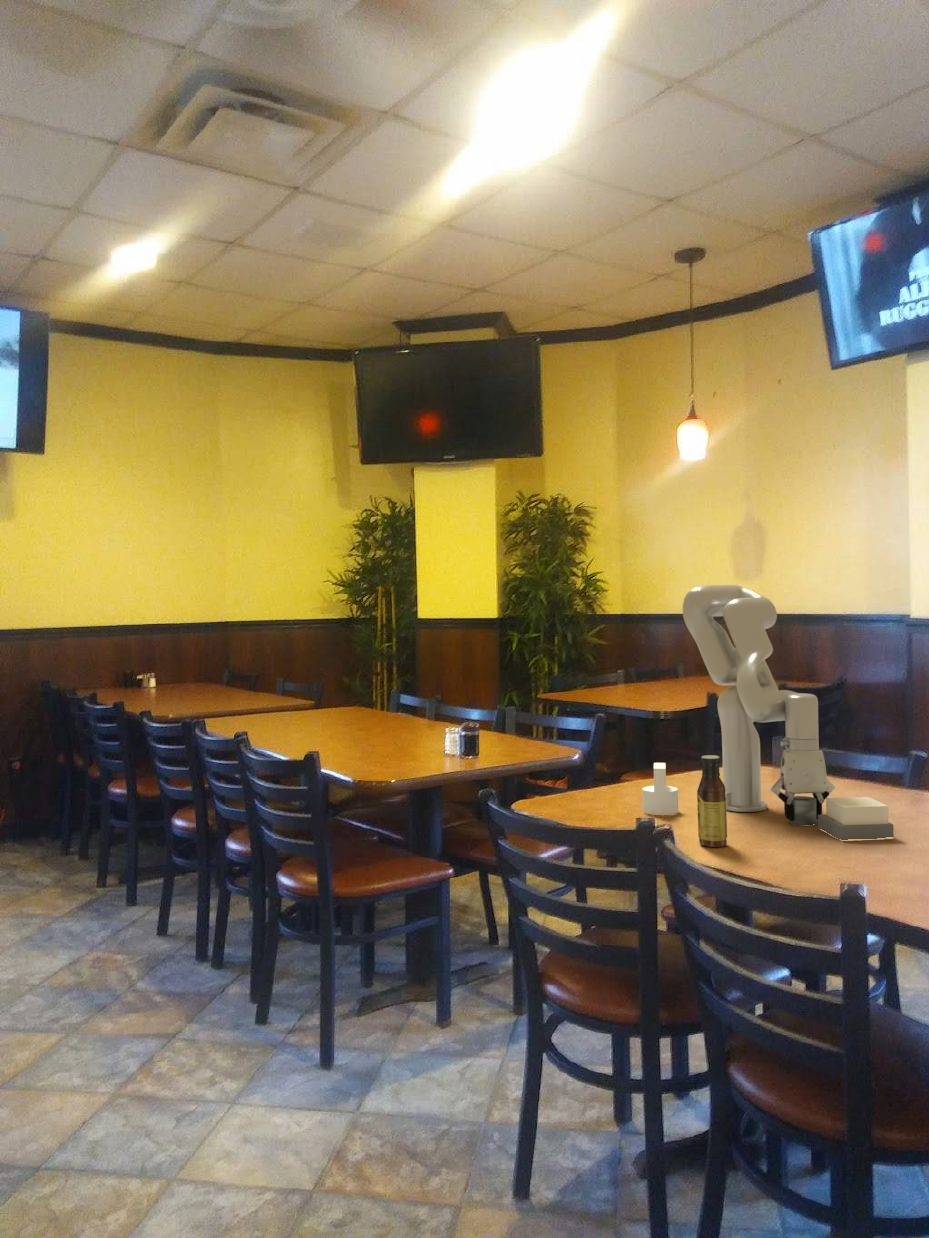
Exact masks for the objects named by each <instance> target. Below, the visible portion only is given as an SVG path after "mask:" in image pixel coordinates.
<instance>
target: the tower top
mask: <svg viewBox="0 0 929 1238" xmlns="http://www.w3.org/2000/svg"><path fill="white" fill-rule="evenodd" d="M825 803H826V804H825V808H826V809H825V812H826V815H827V816H829V817H831V818H833V819H834V820H836V821H838V822H840V823H842V824H843V825H866V824H888V822H889V805H886V804H884V803H882V802H880V801H878V800H876V799H874V798H871V797H869V796H855V797H854V796H853V797H852V796H851V797H827V798H826V799H825Z"/></svg>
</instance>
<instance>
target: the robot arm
mask: <svg viewBox="0 0 929 1238" xmlns="http://www.w3.org/2000/svg"><path fill="white" fill-rule="evenodd" d="M682 617H683V621H684V624H685V626H686V627H687V630H688V631H689V633H690V634H691V636H692V638H693V640H694V641H695V643H696V645H697V648H698V650H699V652H700V655H701V658H702V661H703V663H704V665H705V667H706V669H707V672H708V674H709V677H710V678H711V681H713V683H715V684H716V685H719V686H724V687H725V686H731V687H728V688H725V690H723V691H722V692H721V693H720V694H719V696H718V697H717V704H716V705H717V714H718V717H719V723H720V728H721V729H720V731H721V747H722V748H721V749H722V751H721V753H722V782H723V784H724V786H725V797H726V811H727V812H736V813H737V812H738V813H757V812H763V811H766V810H767V809H768V802H766V801H763V800H762V789H761V788H762V783H761V782H762V781H761V777H762V776H761V774H762V773H761V740H760V735H759V733H758V731H757V729H756V727H755V725H754V722H756V723H761V724H762V723H771V722H782V721H784V722H785V736H784V740H781V741H780V747H784V749H783V752H782V756H781V761H780V771H779V778H778V780H777V781H776V782H775V783H774V784H773V785H772V787H770V790H771V792H773V793H774V794H775V795H776V796H777V797H778V799H780V800H781V801H782V802H783V803H784V804H783V805H784V808H783V809H784V817H785V818H786V820H788V821H793V820H794V805H793V804H792V800H793V798H794V796H796V794H797V795H798V794H799V795H801V794H812V797H813V798H816V817H817V821H818V815H823V804H824V803H825V801H826V798H829V796H830V794H831V793H832V792H833V791H834V790H835V785H834V784H833V783H832V782H831V781H830V780H829V779H828V775H827V768H826V762H825V756H824V752H823V750H820V747H819V746H820V743H819V739H820V738H819V737H820V736H819V701H818V697H817V695H815V694H813V693H806V692H805V693H802V692H796V691H793V690H788V689H780V690H779V688H778V686H777V683H776V681H775V678H774V677H773V674H772V672H771V670H770V668H769V665H768V664H767V661H766V659H768V658H769V657H770V656H772V654H773V652H774V648H773V644H772V643H771V640H770V638H769V636H768V633H767V631H766V630H767V629H770V628H772V627H773V626H774V625H775V624H776V621H777V618H778V613H777V608H776V607H775V605H774V603H773V602H772V600H770V599H768V598H767V597H765V596H764V595H762V594H759V593H756V592H754V591H753V590H750V589H748V588H746V587H743V586H740V585H735V584H723V585H720V584H716V585H715V584H710V585H700V586H696V587H693V588H691V589H690V590H689V591H687V592H686V594H685V595H684V597H683V603H682ZM715 617H723V621H724V622H725V625H726V627H727V629H728V632H729V633H727V631H726V630H725V629H724V627H723V626H722V625H721V624H720V623H719V622H717V621H716V620H715V619H714V618H715ZM728 634H729V635H728ZM729 636H730V637H731V639H732V641H731V639H730V637H729ZM732 642H733V643H732ZM781 790H783V791H784V793H783V792H782V791H781Z"/></svg>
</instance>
